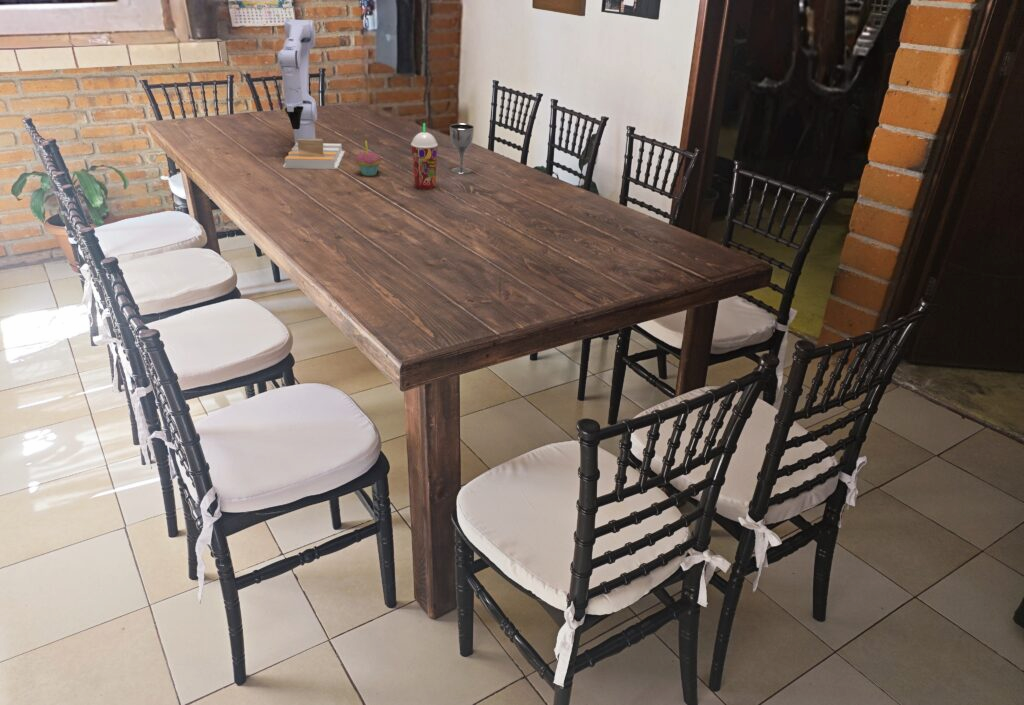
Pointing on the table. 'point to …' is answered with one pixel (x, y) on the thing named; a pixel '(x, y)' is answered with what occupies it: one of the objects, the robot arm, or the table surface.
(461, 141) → the wine glass
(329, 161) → the rack
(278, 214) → the table surface
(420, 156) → the smoothie
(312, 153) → the block
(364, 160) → the cupcake
